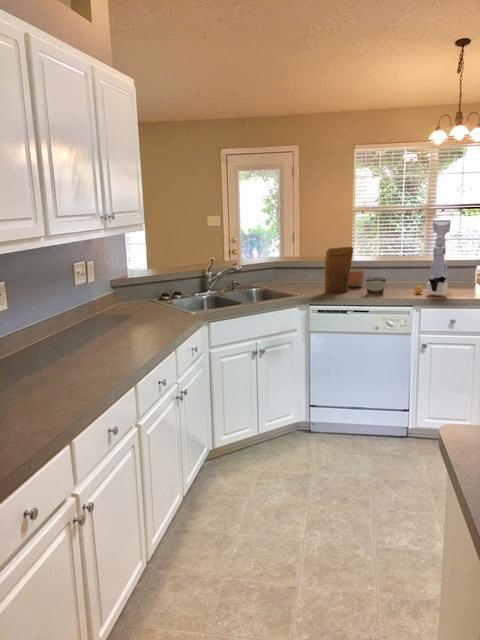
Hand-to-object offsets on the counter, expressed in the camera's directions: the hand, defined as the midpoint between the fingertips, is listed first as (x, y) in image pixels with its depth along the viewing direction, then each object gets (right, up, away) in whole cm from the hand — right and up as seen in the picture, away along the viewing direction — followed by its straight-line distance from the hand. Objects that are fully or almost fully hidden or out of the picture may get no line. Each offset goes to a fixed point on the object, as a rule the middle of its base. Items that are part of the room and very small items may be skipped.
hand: (436, 290), depth 304 cm
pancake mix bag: (-55, 0, +19) cm, 58 cm away
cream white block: (0, -2, 0) cm, 2 cm away
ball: (-8, +1, +8) cm, 12 cm away
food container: (-34, -2, +11) cm, 36 cm away
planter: (-40, +4, +39) cm, 56 cm away
